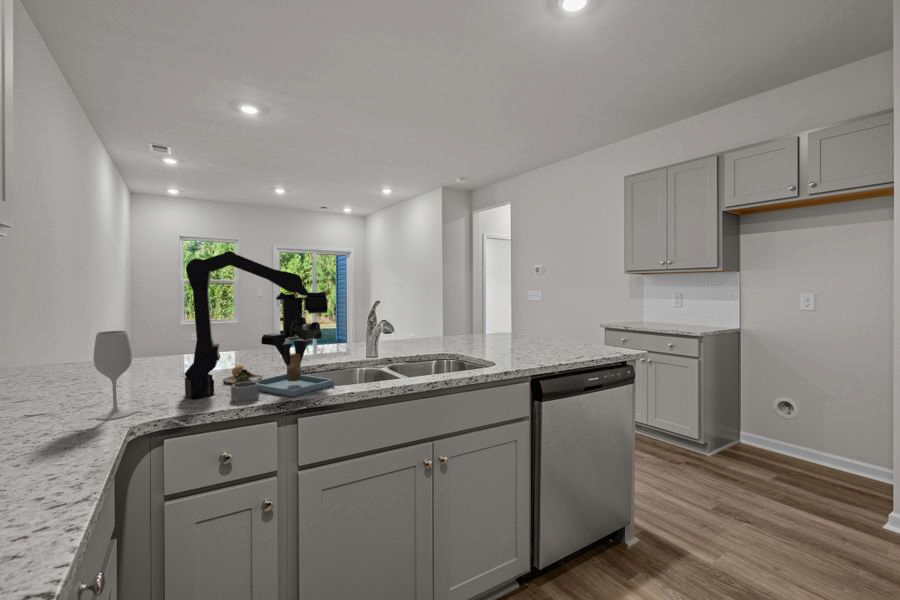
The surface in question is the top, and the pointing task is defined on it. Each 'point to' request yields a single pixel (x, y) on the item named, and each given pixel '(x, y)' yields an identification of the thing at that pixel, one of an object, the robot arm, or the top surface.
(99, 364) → the wineglass
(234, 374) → the burger
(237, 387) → the cup
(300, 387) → the tray
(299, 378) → the peg
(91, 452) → the top surface
